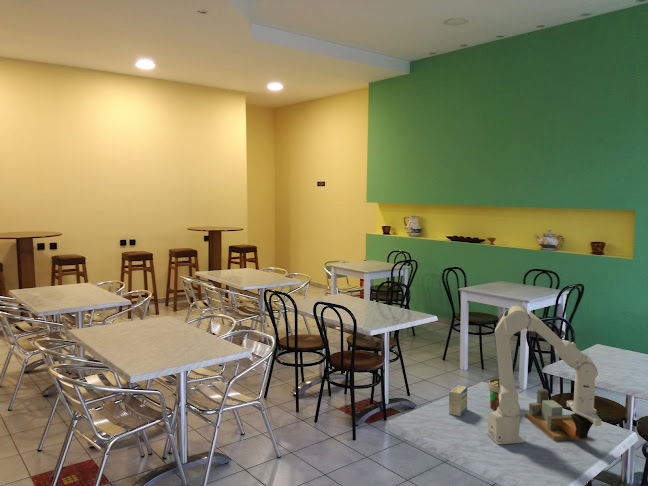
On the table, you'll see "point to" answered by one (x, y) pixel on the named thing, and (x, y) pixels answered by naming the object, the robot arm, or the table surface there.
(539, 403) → the press
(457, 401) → the medicine box
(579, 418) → the robot arm
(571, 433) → the clamp jaw
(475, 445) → the table surface
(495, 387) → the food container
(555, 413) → the block
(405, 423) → the table surface
